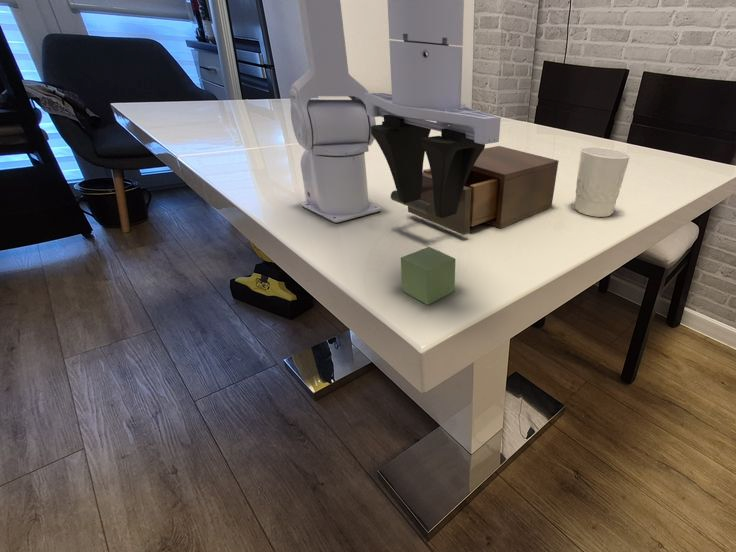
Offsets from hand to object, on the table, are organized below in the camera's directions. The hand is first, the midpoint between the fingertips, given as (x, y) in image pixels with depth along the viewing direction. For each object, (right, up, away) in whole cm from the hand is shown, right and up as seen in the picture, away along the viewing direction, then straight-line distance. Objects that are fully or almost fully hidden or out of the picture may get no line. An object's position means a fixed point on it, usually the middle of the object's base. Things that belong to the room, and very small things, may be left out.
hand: (427, 207), depth 39 cm
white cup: (+23, +5, +32) cm, 40 cm away
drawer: (0, +3, +22) cm, 22 cm away
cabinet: (+7, +6, +30) cm, 31 cm away
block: (-1, -8, +5) cm, 9 cm away
